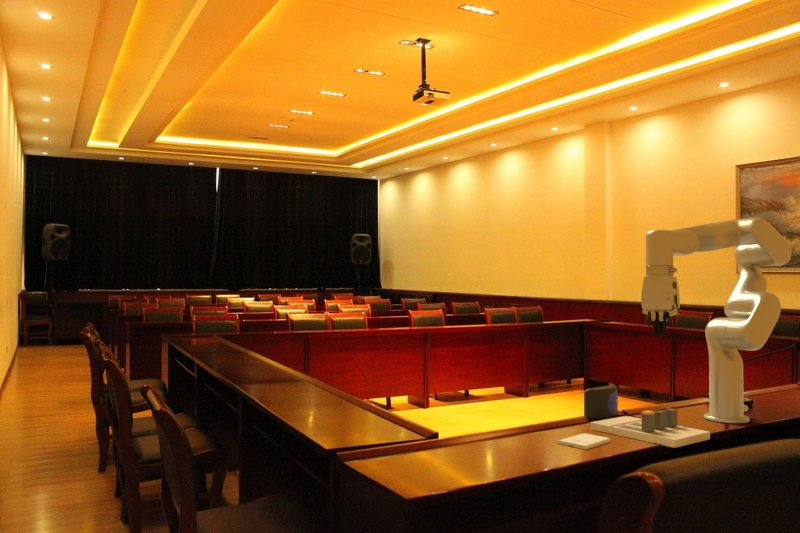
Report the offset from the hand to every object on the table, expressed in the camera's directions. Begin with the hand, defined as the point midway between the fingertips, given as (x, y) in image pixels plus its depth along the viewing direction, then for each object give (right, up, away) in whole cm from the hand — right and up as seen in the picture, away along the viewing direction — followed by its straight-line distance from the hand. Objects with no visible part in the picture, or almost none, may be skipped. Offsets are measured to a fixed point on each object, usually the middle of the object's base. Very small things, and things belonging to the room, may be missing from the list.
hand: (659, 334), depth 190 cm
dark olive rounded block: (-13, -28, +15) cm, 34 cm away
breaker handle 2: (0, -25, -9) cm, 26 cm away
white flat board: (-7, -27, -10) cm, 29 cm away
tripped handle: (-9, -24, -16) cm, 30 cm away
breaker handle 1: (-5, -24, -12) cm, 28 cm away
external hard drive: (-28, -27, -20) cm, 44 cm away
